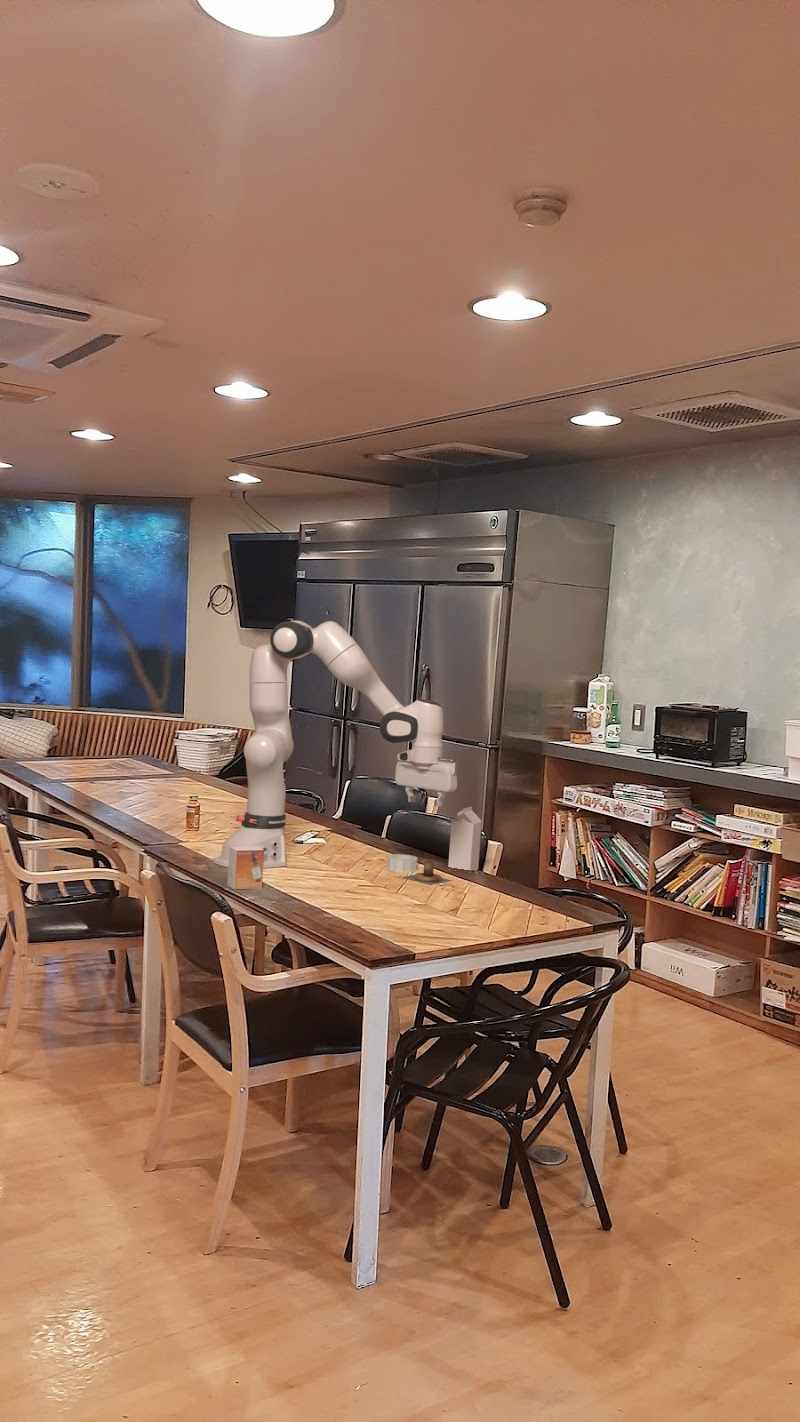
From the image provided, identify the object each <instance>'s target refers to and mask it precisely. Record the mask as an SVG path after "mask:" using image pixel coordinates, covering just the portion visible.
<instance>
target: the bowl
mask: <svg viewBox="0 0 800 1422" xmlns="http://www.w3.org/2000/svg"><path fill="white" fill-rule="evenodd" d="M386 862H387V863H386V870H388V871H389V872H390V871H391V872H395V873H401V874H403V873H406V874H409V873H416V872H417V870H418V857H417V856H415V855H411V854H410V855H409V854H403V853H397V854H396V853H394V854H389V855H387V861H386Z"/></svg>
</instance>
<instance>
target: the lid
mask: <svg viewBox="0 0 800 1422" xmlns="http://www.w3.org/2000/svg"><path fill="white" fill-rule="evenodd" d="M434 867H435V862H434V861H431V860H425V861H423V872H417V873H415V874H414V875H415V879H416V880H418V881H422V882H440V881H441V878H442V876H441V875H440V874H436V873H434V869H435V868H434Z"/></svg>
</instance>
